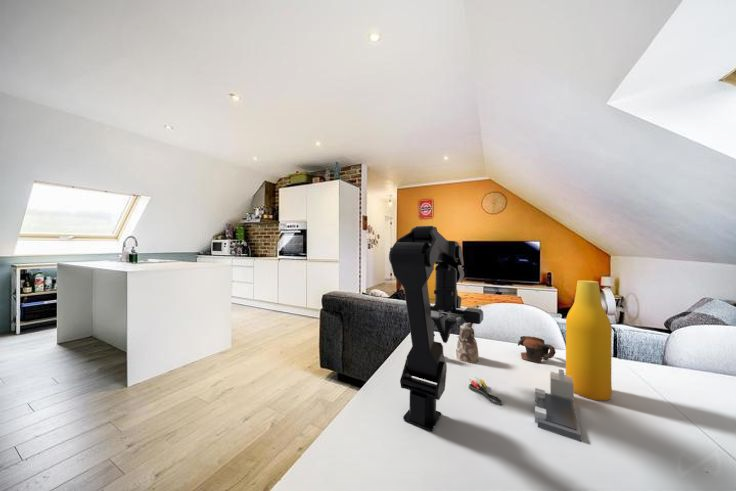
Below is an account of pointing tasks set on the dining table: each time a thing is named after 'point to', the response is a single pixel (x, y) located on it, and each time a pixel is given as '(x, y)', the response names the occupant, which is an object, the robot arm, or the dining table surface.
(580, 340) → the beer bottle
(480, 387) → the composite cable
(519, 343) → the pottery mug
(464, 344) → the figurine
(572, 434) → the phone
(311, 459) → the dining table surface
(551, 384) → the brick
